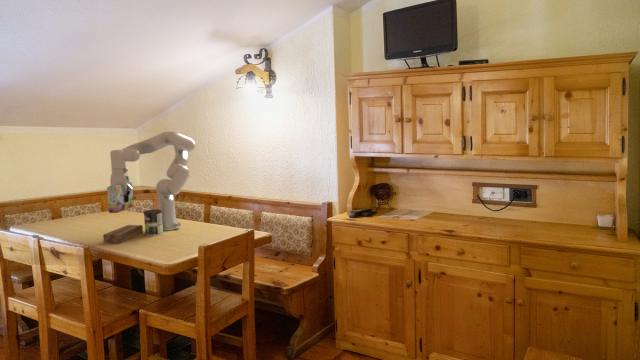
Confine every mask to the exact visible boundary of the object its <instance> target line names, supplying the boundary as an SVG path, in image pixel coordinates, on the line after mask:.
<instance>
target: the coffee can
mask: <svg viewBox="0 0 640 360" xmlns="http://www.w3.org/2000/svg"><path fill="white" fill-rule="evenodd" d="M143 216H144V217H143V218H144V233H145V234H144V235H145V236H149V237H150V236H151V237H155V236H160V235H162V234H164V230H163V226H162V210H159V209H148V210H144V211H143Z"/></svg>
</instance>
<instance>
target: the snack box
mask: <svg viewBox="0 0 640 360" xmlns="http://www.w3.org/2000/svg"><path fill="white" fill-rule="evenodd" d="M130 186H131V187H132V188H133V182H132V181H130ZM128 191H129V190H128ZM133 191H134V189H133V190H132V191H131V193H130V194H129V202H124V196H125V194H124V191H123V186H122V185H112V186H110V185H109V186H107V192H106V193H107V204H108V205H107V207H108V213H109V214H118V213H120V212H123V211H125V210H127V209H130V208H132V207H134V194H133V193H134V192H133Z"/></svg>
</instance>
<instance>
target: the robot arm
mask: <svg viewBox="0 0 640 360" xmlns="http://www.w3.org/2000/svg"><path fill="white" fill-rule="evenodd" d="M168 146H173V148H174V153H175V154H174V158H173V159H172V161H171V164H170V165H169V166H168V168H167V170H166V176H167V178H163V179H159V181H158V182H157V183H156V186H155V187H156V189H155V190H156V194H157V198H158V210H162V226H163V231H173V230H177V229H178V228H180V227H182V225H183V224H182V222H178V220H176V219H177V218H176V202H175V196H177V195H178V194H180V192H181V191H182V190H183V188H184V187H185V184H186V183H187V181H188V179H189V176H190V170H189V168H188V166H187V164H188V162H189V154H188V152H192V151H193V150H194V149H195V147H196V144H195V141H194V140H193V138H191V137H188V136H186V135H184V134H181V133H178V132H176V131H163V132H161V133H158V134H156V135H154V136H152V137H149V138H147V139H144V140H141V141H139V142H136V143H133V144H131V145H128V146H125V147H124V148H122V149H112V150H111V151H110V152H109V153H110V154H109V155H110V165H111V166H110V167H111V174H110V179H109V180H110V181H109V182H110V185H109V186H112V185H122V186H123V191H124V194H125V196H124V202H129V194H130V193H131V191H132V190H133V191H134V188H133V186H132V187H131V186H130V182H131V180H130V177H129V174H128V173H129V172H128V171H129V170H128V169H127V168H126V162H132V163H133V162H137V161H138V160H139V159H140V157H141V155H145V154H152V153H154V152H157V151H159V150H161V149H163V148H165V147H168ZM168 178H169V179H168ZM128 190H129V191H128Z"/></svg>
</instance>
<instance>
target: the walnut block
mask: <svg viewBox="0 0 640 360" xmlns="http://www.w3.org/2000/svg"><path fill="white" fill-rule="evenodd" d="M143 227H144V226H143V225H142V224H138V225H137V224H126V225H124V226H121V227H119V228H116V229H115V230H111V231H108V232H106V233H104V234H103V235H102V239H103V244H110V245H111V244H113V245H114V244H115V245H116V244H119V245H121V244H123V243H124V242H127V241H129V240H132V239H133V238H135V237H138V236H141V235H143V234H144V231H143V230H144V229H143Z"/></svg>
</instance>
